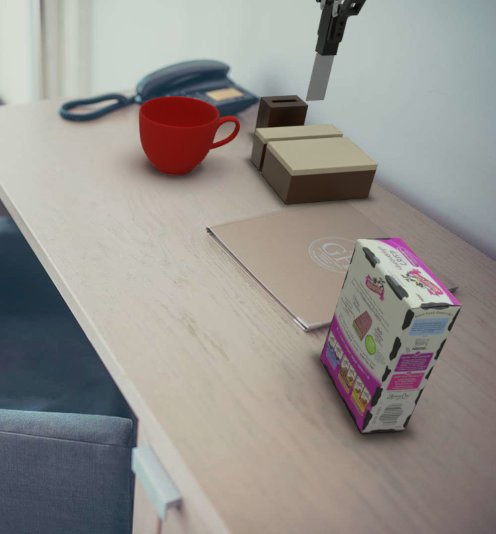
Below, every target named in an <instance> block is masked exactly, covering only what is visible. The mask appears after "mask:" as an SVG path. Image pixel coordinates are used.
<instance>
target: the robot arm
mask: <svg viewBox="0 0 496 534" xmlns="http://www.w3.org/2000/svg"><path fill="white" fill-rule="evenodd" d="M366 2H367V0H315V3H320V4H319V8H320V10H321V14H320V20H319V22H318V28H317V36H318V35H319V30H320V25H321V21H322V16H323V12H324V7H325V3H334V5H333V11H332V16H331V21H330V25H329V30H328V34H327V39H326V41H327V42H329V43H339V44H340V43H342V41H343V38H344V34H345V30H346V26H347V22H348V19H349V18H350V17H356V16H358V15H359V14H360V13H361V10H362V8H363V7H364V5H365V3H366ZM341 4H342V6H341ZM340 7H341V8H340Z"/></svg>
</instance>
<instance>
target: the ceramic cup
mask: <svg viewBox="0 0 496 534" xmlns="http://www.w3.org/2000/svg"><path fill="white" fill-rule="evenodd" d="M139 107H140V108H139V109H138V110H139V111H138V129H139V141H140V145H141V148H142V151H143V152H144V154H145V156H146V158H147V160H148V161H149V162H150V164H151V165H153V167H154V168H155V170H156V171H158V172H160V173H161V174H164V175H168V176H183V175H187V174H189V173H191V172H192V171H193V170H194V169H195V168H196V167H198V166H199V165H200V164H202V162H203V161H204V160H205V158H206V157H207V155H208V153H209V152H210V151H211V150H214V149H217V148H220V147H223V146H225V145H227V144H230V143H231V142H232V141H234V139H235V138H237V136H238V134H239V133H240V130H241V123H240V120H239V119H238V118H237V117H235V116H232V115H227V116H226V115H225V116H222V117H220V112H219V110H218V108H217V107H216V106H214V105H213V104H211V103H209V102H207V101H205V100H202V99H198V98H193V97H189V96H177V95H169V96H160V97H155V98H151V99H149V100H146V101H145V102H143V103H142V104H141V105H140V106H139ZM230 122H231V123H234V124H235V127H234V130H233V131H232V132H231V133H230V135H228V136H226V137H225V138H223V139H220V140H219V141H215V137H216V134H217V132H218V130H219V128H220V127H221V126H222V125H224V124H225V123H230ZM214 141H215V142H214Z"/></svg>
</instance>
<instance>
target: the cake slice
mask: <svg viewBox="0 0 496 534" xmlns="http://www.w3.org/2000/svg"><path fill="white" fill-rule="evenodd" d="M254 132H255V135H254V137H253V143H252V148H251V155H250V161H251V163H252V164H253V165H254V166H255V167H256V169H258V171H262V169H263V164H264V159H265V153H266V148H267V143H268V142H271V141H287V140H303V139H319V138H335V137H344V133H343V132H342V130H340V129H339V128H338V127H337V126H335V125H334V124H333V123H327V124H309V125H304V126H290V127H274V128H257V129H256V131H255V130H254Z"/></svg>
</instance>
